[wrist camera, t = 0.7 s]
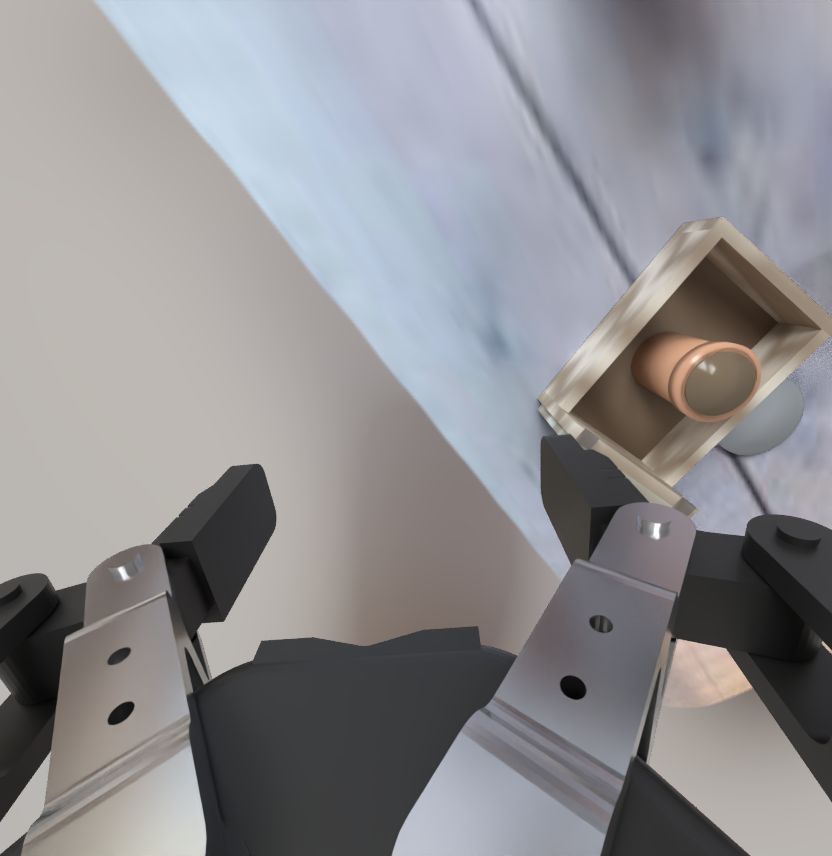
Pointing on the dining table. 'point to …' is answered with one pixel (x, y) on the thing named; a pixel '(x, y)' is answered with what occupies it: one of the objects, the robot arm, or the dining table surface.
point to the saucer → (767, 422)
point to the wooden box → (690, 315)
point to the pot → (698, 374)
